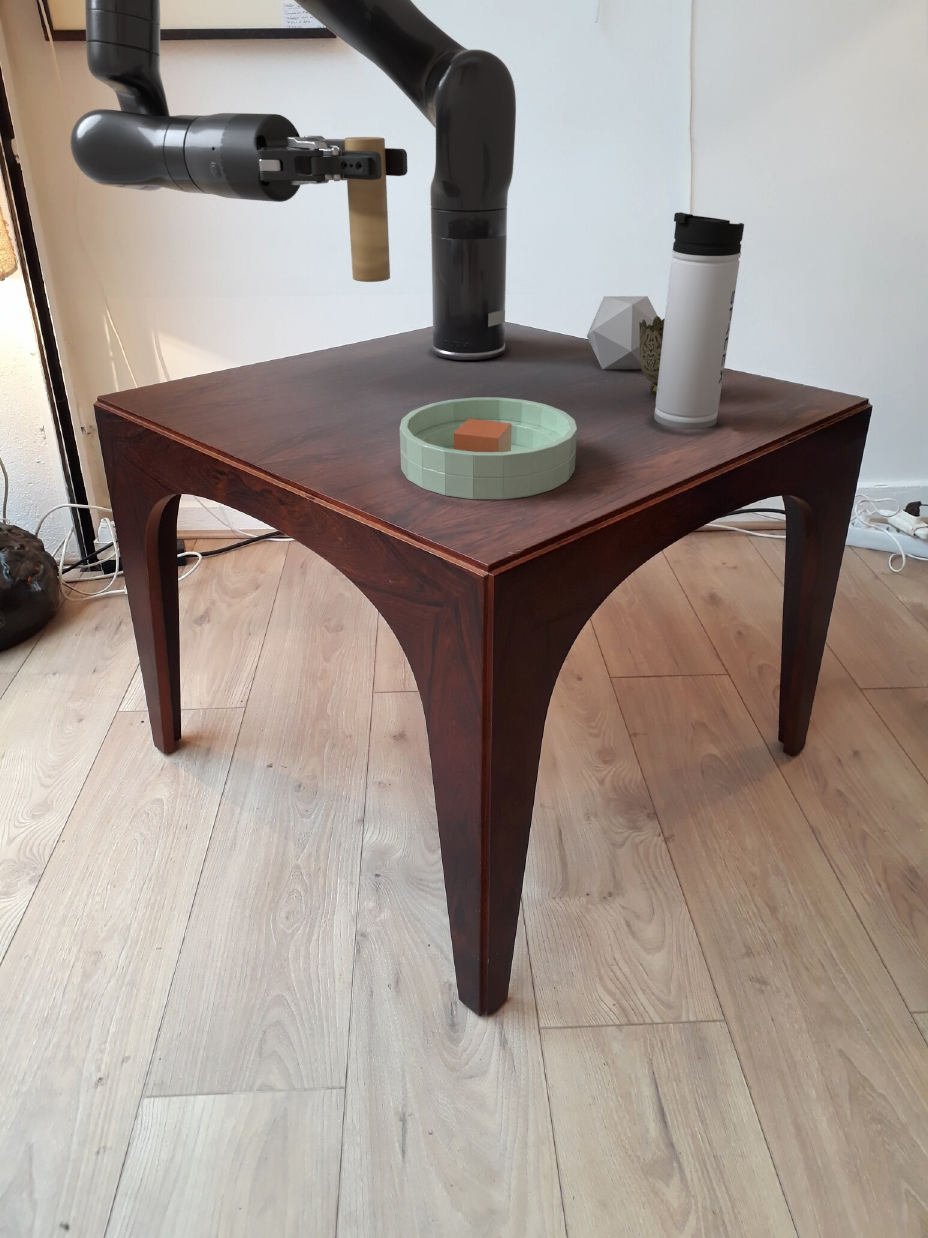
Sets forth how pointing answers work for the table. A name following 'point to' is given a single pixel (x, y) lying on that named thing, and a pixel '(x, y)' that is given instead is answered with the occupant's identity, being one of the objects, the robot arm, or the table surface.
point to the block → (483, 436)
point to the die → (620, 330)
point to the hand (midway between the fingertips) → (391, 163)
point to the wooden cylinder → (368, 217)
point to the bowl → (524, 471)
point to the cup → (651, 350)
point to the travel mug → (697, 320)
